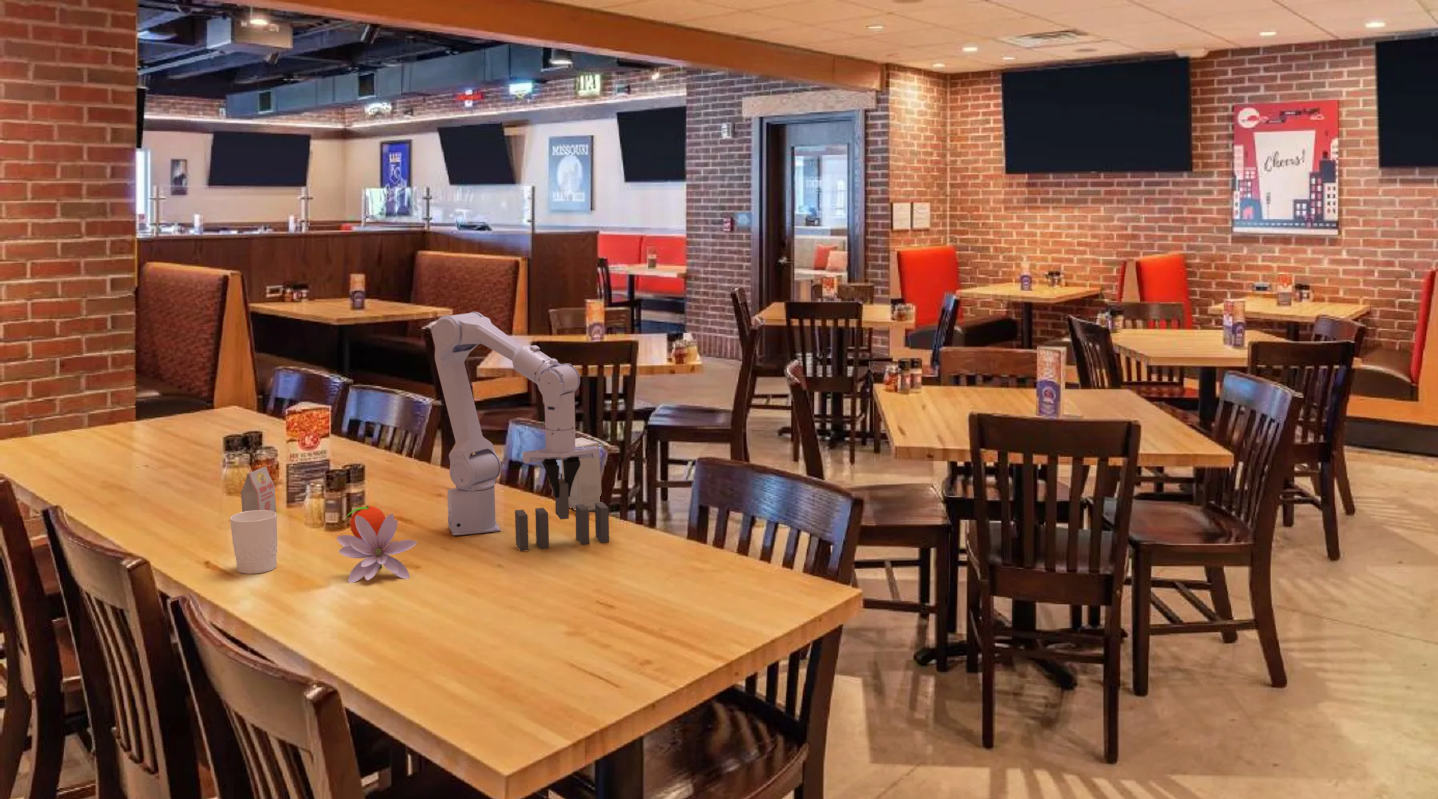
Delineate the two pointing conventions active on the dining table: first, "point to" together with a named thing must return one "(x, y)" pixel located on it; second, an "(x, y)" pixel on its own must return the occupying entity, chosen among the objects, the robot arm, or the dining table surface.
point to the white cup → (255, 540)
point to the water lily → (374, 549)
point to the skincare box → (586, 479)
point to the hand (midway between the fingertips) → (561, 496)
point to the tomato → (367, 519)
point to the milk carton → (258, 491)
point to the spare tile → (562, 500)
